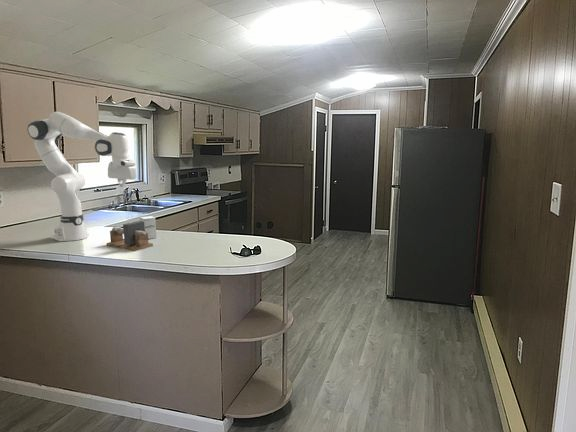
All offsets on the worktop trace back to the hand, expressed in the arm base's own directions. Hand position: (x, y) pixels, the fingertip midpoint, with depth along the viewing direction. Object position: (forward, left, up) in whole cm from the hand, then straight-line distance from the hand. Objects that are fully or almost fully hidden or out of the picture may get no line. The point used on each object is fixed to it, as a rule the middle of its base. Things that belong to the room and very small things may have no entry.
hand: (122, 186), depth 257 cm
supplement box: (+2, +14, -33) cm, 36 cm away
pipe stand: (+8, -5, -32) cm, 33 cm away
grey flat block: (+13, -5, -30) cm, 33 cm away
